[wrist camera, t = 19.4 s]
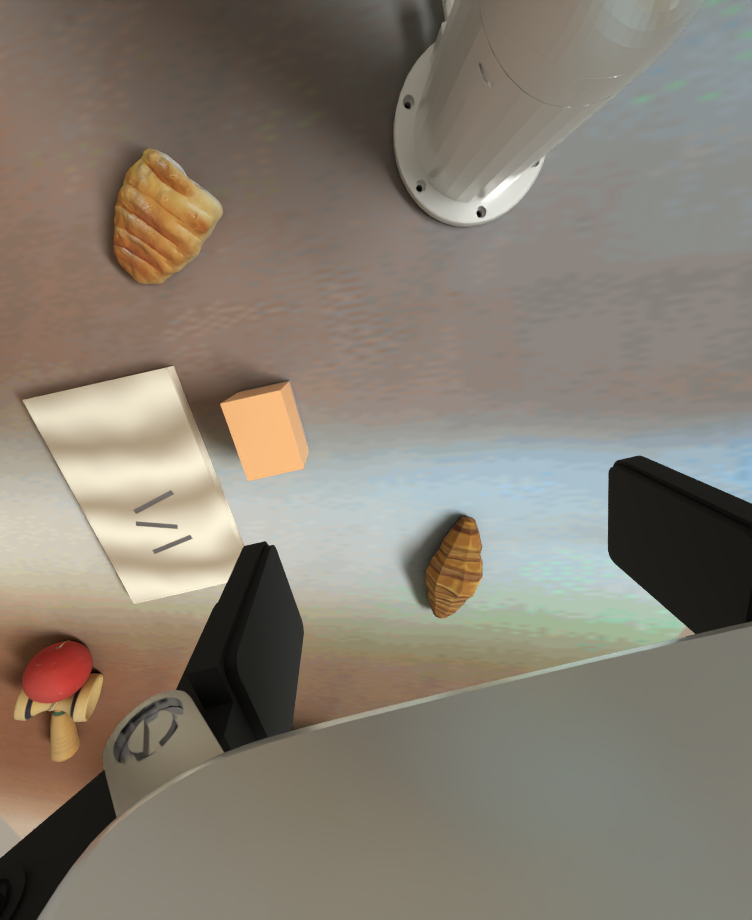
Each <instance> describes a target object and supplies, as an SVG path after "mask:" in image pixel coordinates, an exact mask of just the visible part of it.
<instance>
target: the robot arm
mask: <svg viewBox="0 0 752 920" xmlns="http://www.w3.org/2000/svg"><path fill="white" fill-rule="evenodd" d="M703 2H704V0H442V7H443V9H444V16H445V22H442V24H441V27H440V30H439V33H438V37H437V40H436V42H435V43H433V44H432V45H431V46H429V47H428V49H427V50H426V51H425V52H424V53H423V54H422V55H421V56H420V57H419V58H418V59H417V61H416V63H415V64H414V66H413V67H412V69H411V71H410V72H409V74H408V75H407V78H406V80H405V83H404V85H403V88H402V90H401V92H400V96H399V99H398V103H397V107H396V113H395V119H394V126H393V147H394V153H395V159H396V164H397V167H398V170H399V174H400V177H401V180H402V181H403V183H404V185H405V187H406V189H407V191H408V193H409V195H410V196H411V197H412V198H413V200H414V201H415V202H416V203H417V205H418V206H419V207H420V208H421V209H423V210H424V211H425V212H426V213H427V214H428V215H430V216H431V217H433V218H435V219H437V220H439V221H440V222H442V223H446V224H449V225H453V226H460V227H471V226H477V225H483V224H485V223H488V222H490V221H493V220H495V219H497V218H498V217H500V216H502V215H503V214H505V213H506V212H508V211H509V210H510V209H511V208H513V207H514V206H515V205H516V204H517V203H518V202H519V201H520V200H521V199H522V198H523V197H524V196H525V194H526V193H527V192H528V191H529V189H530V188H531V186H532V184H533V183H534V181H535V180H536V178H537V176H538V174H539V172H540V170H541V167H542V165H543V162H544V159H545V155H546V154H547V153H548V152H549V151H551V150H552V149H553V148H554V147H555V146H557V145H558V144H559V143H560V142H561V141H562V140H564V139H565V138H566V137H567V136H568V135H570V134H571V133H572V132H573V131H574V130H575V129H577V128H578V127H579V126H580V125H581V124H583V123H584V122H585V121H586V120H587V119H589V118H590V117H591V116H592V115H593V114H594V113H596V112H597V111H598V110H599V109H600V108H602V107H603V106H604V105H605V104H606V103H608V102H609V101H610V100H611V99H612V98H613V97H615V96H616V95H617V94H618V93H619V92H621V91H622V90H623V89H624V88H625V87H626V86H628V85H629V84H630V83H631V82H632V81H633V80H634V79H635V78H636V77H638V76H639V75H640V74H641V73H642V72H643V71H645V70H646V69H647V68H648V67H649V66H650V65H652V64H653V63H654V62H655V61H656V60H657V59H658V58H659V57H660V56H661V55H662V54H663V53H664V52H665V51H666V50H667V49H668V48H669V47H670V46H671V45H672V43H673V42H674V41H675V40H676V39H677V38H678V36H679V35H680V34H681V33H682V32H683V30H684V29H685V28H686V27H687V25H688V24H689V23H690V21H691V20H692V19H693V17H694V16H695V14H696V13H697V11H698V10H699V8H700V7H701V5H702V3H703ZM405 105H408V106H409V107H410V109H406V108H405V107H404V106H405ZM416 187H420V188H421V192H418V191H417V190H416ZM476 212H479V213H480V218H479V217H478V216H477V214H476ZM608 552H609V556H610V558H611V559H612V561H613V562H614V563H615V564H616V565H617V566H618V567H619V568H620V569H622V570H623V571H624V572H625V573H626V574H627V575H629V576H630V577H631V578H632V579H633V580H634V581H635V582H637V583H638V584H639V585H640V586H641V587H642V588H643V589H645V590H646V591H647V592H648V593H649V594H650V595H651V596H653V597H654V598H655V599H656V600H657V601H658V602H659V603H661V604H662V605H663V606H664V607H665V608H666V609H667V610H669V611H670V612H671V613H672V614H673V615H674V616H675V617H677V618H678V619H679V620H680V621H681V622H682V623H684V624H685V625H686V626H687V627H688V628H689V629H690V630H692V631H693V632H694V633H695V634H694V635H691V636H686V637H681V638H677V639H672V640H668V641H664V642H659V643H655V644H650V645H646V646H642V647H637V648H633V649H629V650H624V651H620V652H616V653H611V654H607V655H603V656H598V657H594V658H590V659H585V660H581V661H577V662H573V663H568V664H564V665H560V666H555V667H551V668H547V669H543V670H538V671H534V672H530V673H526V674H521V675H517V676H513V677H508V678H504V679H500V680H496V681H491V682H487V683H483V684H479V685H475V686H471V687H466V688H462V689H458V690H454V691H450V692H446V693H441V694H437V695H433V696H429V697H425V698H421V699H416V700H412V701H408V702H404V703H400V704H395V705H391V706H387V707H383V708H379V709H375V710H370V711H366V712H362V713H358V714H355V715H351V716H347V717H343V718H339V719H335V720H331V721H327V722H323V723H319V724H315V725H311V726H308V727H304V728H300V729H297V730H293V731H292V723H293V715H294V707H295V699H296V691H297V683H298V675H299V667H300V660H301V652H302V644H303V636H304V629H303V623H302V619H301V617H300V614H299V611H298V608H297V605H296V603H295V600H294V597H293V594H292V591H291V589H290V586H289V583H288V580H287V577H286V575H285V572H284V569H283V566H282V563H281V561H280V558H279V555H278V552H277V550H276V547H275V546H274V545H271V546H269V545H268V544H267V542H265V541H264V542H260V543H256V544H251V545H247V546H244V547H243V548H242V550H241V553H240V555H239V557H238V559H237V562H236V564H235V566H234V568H233V570H232V573H231V575H230V577H229V579H228V582H227V584H226V586H225V588H224V590H223V593H222V595H221V597H220V599H219V602H218V603H216V605H215V606H214V608H213V610H212V612H211V614H210V617H209V619H208V621H207V623H206V625H205V628H204V630H203V632H202V634H201V636H200V639H199V641H198V643H197V645H196V647H195V649H194V652H193V654H192V656H191V658H190V660H189V663H188V665H187V667H186V669H185V671H184V673H183V676H182V678H181V680H180V682H179V684H178V687H177V689H176V690H172V691H165V692H163V693H160V694H158V695H155V696H153V697H151V698H149V699H148V700H146V701H145V702H143V703H141V704H140V705H139V706H137V707H136V708H135V709H134V710H133V711H131V712H130V713H129V714H128V715H127V716H126V717H125V718H124V719H123V720H122V721H121V723H120V724H119V725H118V726H117V727H116V728H115V730H114V732H113V733H112V735H111V736H110V738H109V740H108V741H107V744H106V747H105V750H104V752H103V766H104V771H102V772H101V773H100V774H99V775H98V776H97V777H95V778H94V779H93V780H92V781H91V782H90V783H88V784H87V785H86V786H85V787H84V788H82V789H81V790H80V791H79V792H78V793H77V794H75V795H74V796H73V797H72V798H71V799H70V800H68V801H67V802H66V803H65V804H64V805H62V806H61V807H60V808H59V809H58V810H57V811H55V812H54V813H53V814H52V815H51V816H49V817H48V818H47V819H46V820H45V821H44V822H42V823H41V824H40V825H39V826H38V827H37V828H35V829H34V830H33V831H32V832H31V833H29V834H28V835H27V836H26V837H25V838H24V839H22V840H21V841H20V842H19V843H18V844H17V845H15V846H14V847H13V848H12V849H11V850H10V851H8V852H7V853H6V854H5V855H4V856H2V857H1V858H0V920H752V504H751V503H749V502H747V501H744V500H742V499H740V498H737V497H735V496H733V495H731V494H728V493H726V492H724V491H721V490H719V489H717V488H714V487H712V486H710V485H708V484H705V483H703V482H701V481H698V480H696V479H694V478H691V477H689V476H687V475H685V474H682V473H680V472H678V471H675V470H673V469H671V468H668V467H666V466H664V465H662V464H659V463H657V462H655V461H652V460H650V459H648V458H645V457H643V456H635V457H631V458H626V459H622V460H617V461H616V462H615V463H614V465H613V467H611V468H610V470H609V485H608Z"/></svg>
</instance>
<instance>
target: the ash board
mask: <svg viewBox="0 0 752 920" xmlns="http://www.w3.org/2000/svg"><path fill="white" fill-rule="evenodd" d="M23 402H24V404H25V406H26V408H27V409H28V411H29V413H30V415H31V417H32V419H33V420H34V422H35V424H36V426H37V428H38V430H39V431H40V433H41V435H42V437H43V439H44V441H45V442H46V444H47V446H48V448H49V450H50V451H51V453H52V455H53V457H54V459H55V461H56V462H57V464H58V466H59V468H60V470H61V472H62V473H63V475H64V477H65V479H66V481H67V483H68V484H69V486H70V488H71V490H72V492H73V493H74V495H75V497H76V499H77V501H78V503H79V504H80V506H81V508H82V510H83V512H84V514H85V515H86V517H87V519H88V521H89V523H90V525H91V526H92V528H93V530H94V532H95V534H96V535H97V537H98V539H99V541H100V543H101V545H102V546H103V548H104V550H105V552H106V554H107V556H108V557H109V559H110V561H111V563H112V565H113V567H114V568H115V570H116V572H117V574H118V576H119V577H120V579H121V581H122V583H123V585H124V587H125V588H126V590H127V592H128V594H129V596H130V598H131V599H132V601H133V603H134V604H137V603H141V602H145V601H150V600H154V599H158V598H163V597H167V596H171V595H176V594H180V593H185V592H189V591H193V590H198V589H202V588H206V587H211V586H215V585H219V584H224V583H227V582H228V579H229V577H230V575H231V573H232V570H233V568H234V566H235V564H236V562H237V559H238V557H239V555H240V553H241V550H242V548H243V547H244V544H243V542H242V539H241V537H240V534H239V531H238V529H237V526H236V524H235V521H234V519H233V516H232V514H231V511H230V508H229V506H228V503H227V501H226V498H225V496H224V493H223V491H222V488H221V486H220V483H219V480H218V478H217V475H216V473H215V470H214V468H213V465H212V463H211V460H210V457H209V455H208V452H207V450H206V447H205V445H204V442H203V440H202V437H201V434H200V432H199V429H198V427H197V424H196V422H195V419H194V417H193V414H192V411H191V409H190V406H189V404H188V401H187V399H186V396H185V394H184V391H183V388H182V386H181V383H180V381H179V378H178V376H177V373H176V371H175V368H174V366H171V367H167V368H162V369H158V370H153V371H149V372H144V373H140V374H136V375H131V376H127V377H122V378H118V379H113V380H109V381H105V382H100V383H96V384H91V385H87V386H82V387H78V388H74V389H69V390H65V391H60V392H56V393H51V394H47V395H42V396H38V397H34V398H29V399H25V400H23Z"/></svg>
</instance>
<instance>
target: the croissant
mask: <svg viewBox="0 0 752 920" xmlns="http://www.w3.org/2000/svg"><path fill="white" fill-rule="evenodd" d="M481 550H482V544H481V540H480V535H479V531H478V528H477V525H476V522H475V520H474V519H473V518H471V517H468V516H461V517H460V518H459V519H458V520H457V522H456V523H455V524H454V525H453V526H452V528H451V529H450V530H449V532H448V533H447V535H446V536H445V537H444V539H443V541H442V543H441V546H440V548H439V550H438V551H437V552H436V553H435V554H434V556H433V557H432V559H431V561H430V563H429V565H428V567H427V569H426V585H427V587H428V590H427V597H428V600H429V603H430V606H431V608H432V611H433V614H434V615H435V616H436V617H438V618H446V617H448V616H450V615H452V614H453V613H455V612H456V611H457V610H458V609H459V608H460V607H461V606H462V605H463V604H464V603H465V602H466V600H467V599H469V598H470V597H472V596H473V594H474V593H475V591H476V589H477V587H478V585H479V583H480V581H481V579H482V559H481V556H480V553H481Z"/></svg>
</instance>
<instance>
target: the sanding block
mask: <svg viewBox="0 0 752 920" xmlns="http://www.w3.org/2000/svg"><path fill="white" fill-rule="evenodd" d="M220 405H221V408H222V410H223V413H224V416H225V419H226V421H227V424H228V427H229V430H230V433H231V435H232V438H233V441H234V444H235V447H236V449H237V452H238V455H239V458H240V460H241V463H242V466H243V469H244V472H245V474H246V477H247V480H248V481H251V480H255V479H260V478H264V477H269V476H273V475H278V474H282V473H286V472H291V471H295V470H300V469H304V466H305V462H306V459H307V455H308V451H309V445H308V441H307V438H306V434H305V431H304V427H303V424H302V420H301V417H300V413H299V410H298V406H297V403H296V399H295V396H294V392H293V389H292V385H291V382H290V380H289V381H285V382H280V383H276V384H271V385H267V386H262V387H258V388H254V389H249V390H245V391H240V392H238V393H236V394H235V395H233V396H232V397H230V398H228V399H227V400H225V401H224V402H222V403H220Z"/></svg>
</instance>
